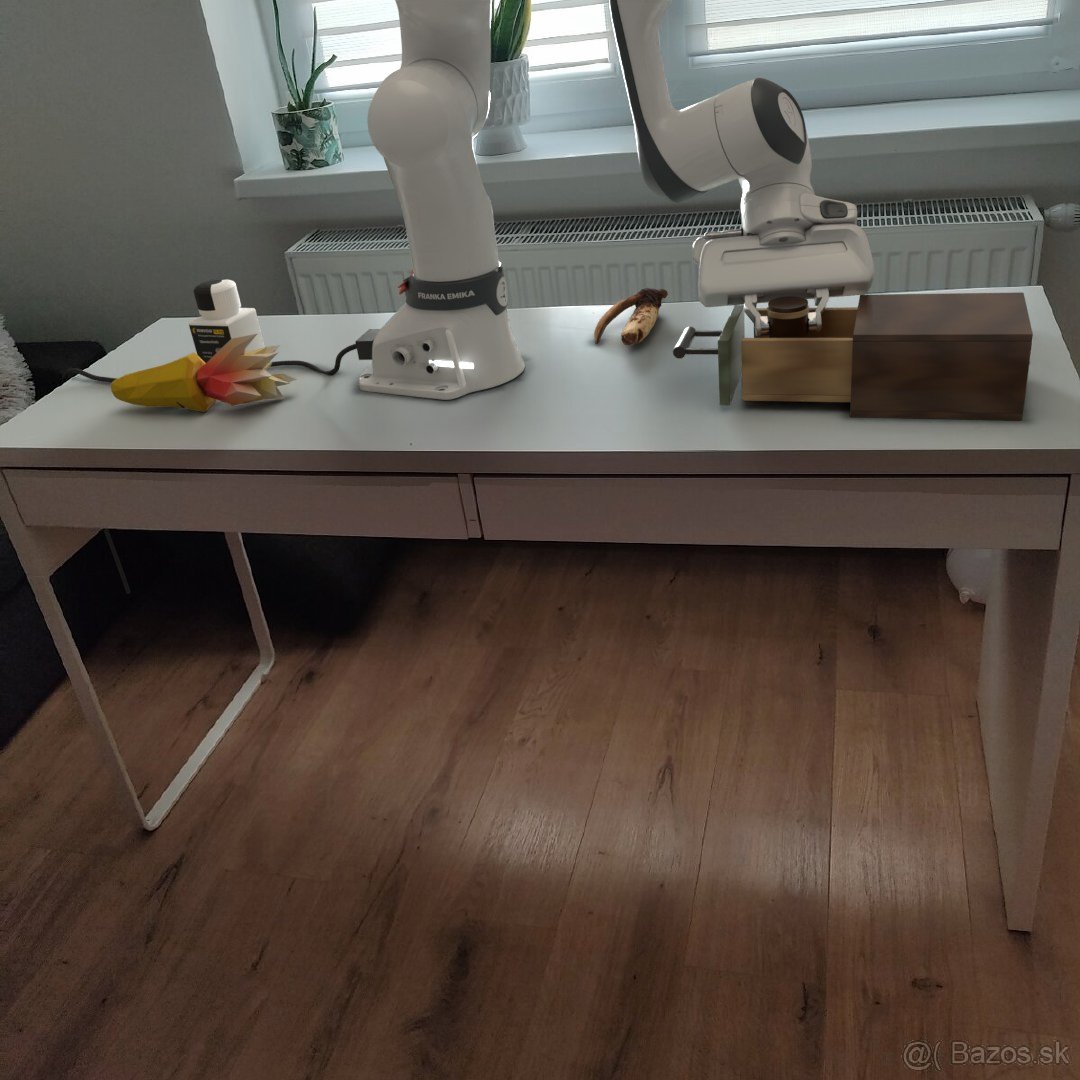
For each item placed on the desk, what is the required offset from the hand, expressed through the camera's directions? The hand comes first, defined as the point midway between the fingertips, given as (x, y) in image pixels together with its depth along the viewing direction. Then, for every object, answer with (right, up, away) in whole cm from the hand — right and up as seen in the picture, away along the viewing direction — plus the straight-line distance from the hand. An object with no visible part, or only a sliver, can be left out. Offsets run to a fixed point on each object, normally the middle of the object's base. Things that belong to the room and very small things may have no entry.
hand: (788, 331), depth 124 cm
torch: (-74, -6, +21) cm, 77 cm away
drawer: (-1, -6, +3) cm, 7 cm away
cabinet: (+16, -8, -3) cm, 18 cm away
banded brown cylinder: (+1, -4, +3) cm, 4 cm away
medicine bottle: (-75, +2, +36) cm, 83 cm away
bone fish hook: (-16, +5, +27) cm, 32 cm away
